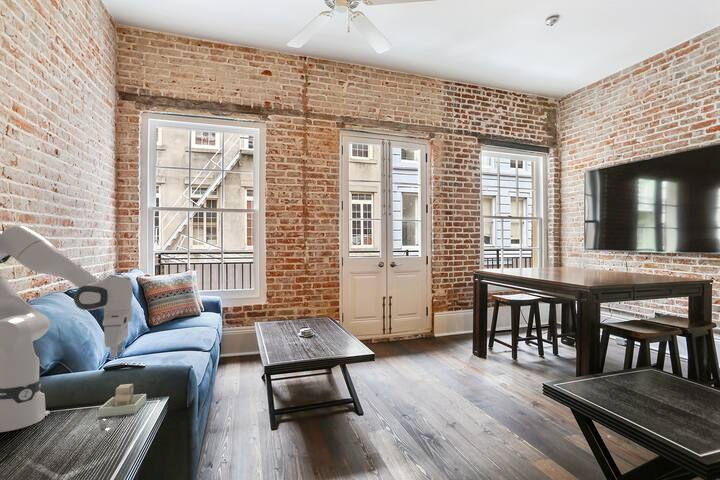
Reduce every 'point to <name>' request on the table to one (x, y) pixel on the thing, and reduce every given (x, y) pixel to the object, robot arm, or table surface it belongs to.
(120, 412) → the bin
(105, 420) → the grey pot lid
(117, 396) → the tan rectangular block
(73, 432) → the table surface
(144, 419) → the table surface
